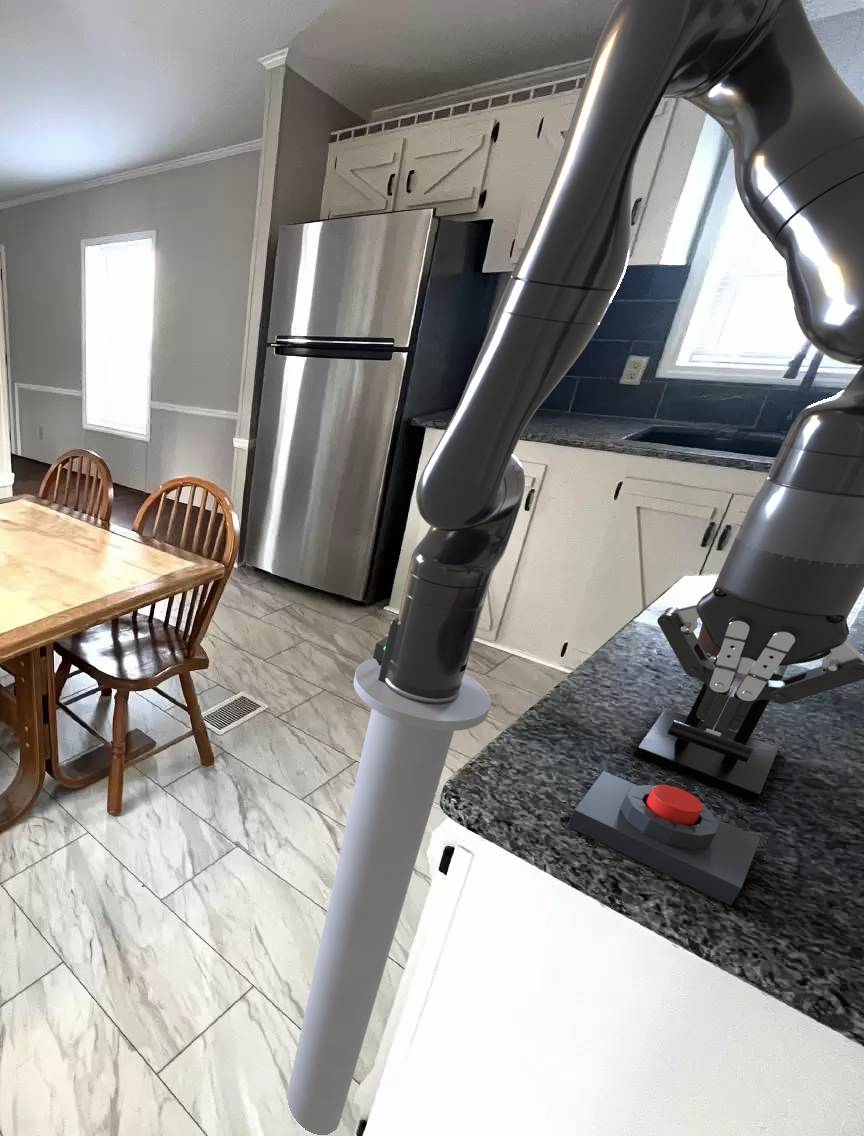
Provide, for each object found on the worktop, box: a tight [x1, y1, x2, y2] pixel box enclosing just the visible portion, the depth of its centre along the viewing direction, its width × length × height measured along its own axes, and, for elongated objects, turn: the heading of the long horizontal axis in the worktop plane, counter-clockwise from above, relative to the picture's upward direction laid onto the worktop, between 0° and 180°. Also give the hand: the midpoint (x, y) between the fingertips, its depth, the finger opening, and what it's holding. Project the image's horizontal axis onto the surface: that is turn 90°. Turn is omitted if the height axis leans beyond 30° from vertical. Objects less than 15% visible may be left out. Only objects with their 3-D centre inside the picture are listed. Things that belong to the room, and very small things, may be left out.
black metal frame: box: [633, 652, 789, 803], centre depth 70 cm, size 12×10×13 cm
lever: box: [667, 658, 755, 762], centre depth 66 cm, size 13×6×2 cm, turn 127°
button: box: [646, 784, 704, 826], centre depth 60 cm, size 4×4×2 cm
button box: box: [566, 771, 761, 907], centre depth 61 cm, size 12×9×4 cm
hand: (715, 726), depth 56 cm, fingers closed
